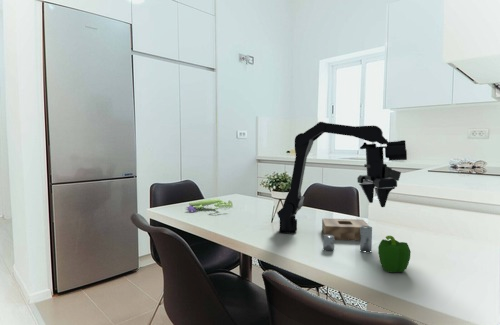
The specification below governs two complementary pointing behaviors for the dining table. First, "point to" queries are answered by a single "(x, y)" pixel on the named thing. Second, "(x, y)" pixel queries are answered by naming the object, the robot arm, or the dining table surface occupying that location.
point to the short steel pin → (328, 242)
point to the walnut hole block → (343, 228)
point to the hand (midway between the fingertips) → (376, 204)
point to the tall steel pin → (366, 238)
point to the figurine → (208, 202)
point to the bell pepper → (393, 255)
